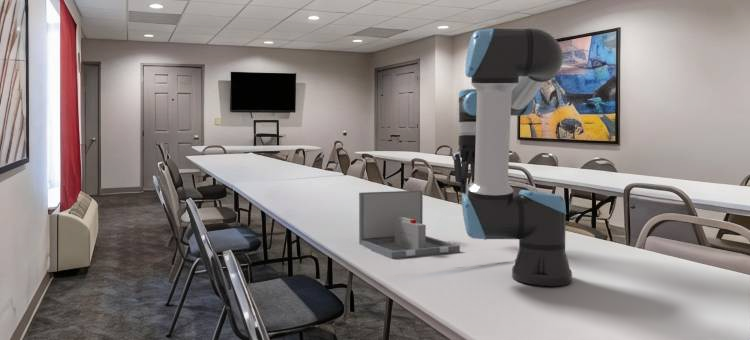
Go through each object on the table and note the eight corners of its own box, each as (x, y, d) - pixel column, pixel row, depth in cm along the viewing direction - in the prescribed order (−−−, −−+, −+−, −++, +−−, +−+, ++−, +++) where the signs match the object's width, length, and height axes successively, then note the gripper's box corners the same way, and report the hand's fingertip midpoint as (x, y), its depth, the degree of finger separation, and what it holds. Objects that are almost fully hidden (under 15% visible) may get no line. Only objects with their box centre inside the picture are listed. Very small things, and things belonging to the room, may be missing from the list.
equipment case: (460, 252, 162) (461, 195, 161) (392, 259, 151) (392, 198, 150) (420, 240, 184) (421, 190, 183) (359, 245, 173) (359, 192, 172)
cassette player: (425, 253, 160) (425, 221, 160) (418, 254, 159) (418, 222, 159) (401, 245, 174) (401, 216, 174) (394, 245, 173) (394, 216, 173)
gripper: (481, 135, 183) (480, 200, 184) (444, 134, 176) (444, 202, 177) (494, 134, 176) (494, 202, 177) (457, 134, 169) (456, 204, 170)
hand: (469, 202), depth 177 cm, fingers open, 3 cm apart
